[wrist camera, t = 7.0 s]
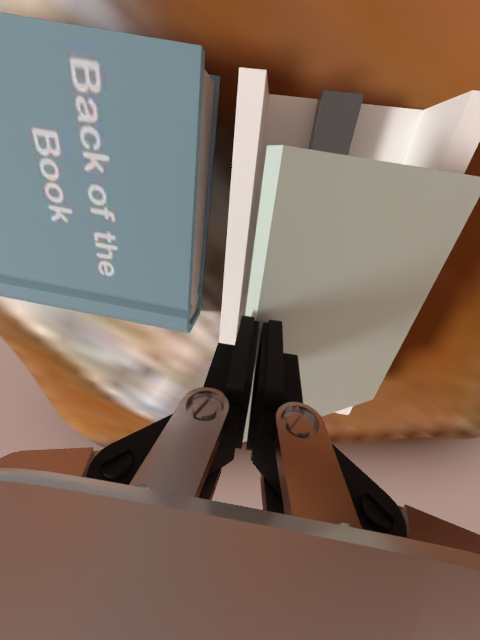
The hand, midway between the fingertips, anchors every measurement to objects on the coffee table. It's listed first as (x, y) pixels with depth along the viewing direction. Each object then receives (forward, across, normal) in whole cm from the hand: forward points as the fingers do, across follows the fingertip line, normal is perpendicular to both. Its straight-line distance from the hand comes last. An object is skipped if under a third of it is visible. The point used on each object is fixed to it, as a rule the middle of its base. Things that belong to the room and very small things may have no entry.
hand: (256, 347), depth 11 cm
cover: (+3, -4, 0) cm, 5 cm away
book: (+12, +16, -3) cm, 20 cm away
